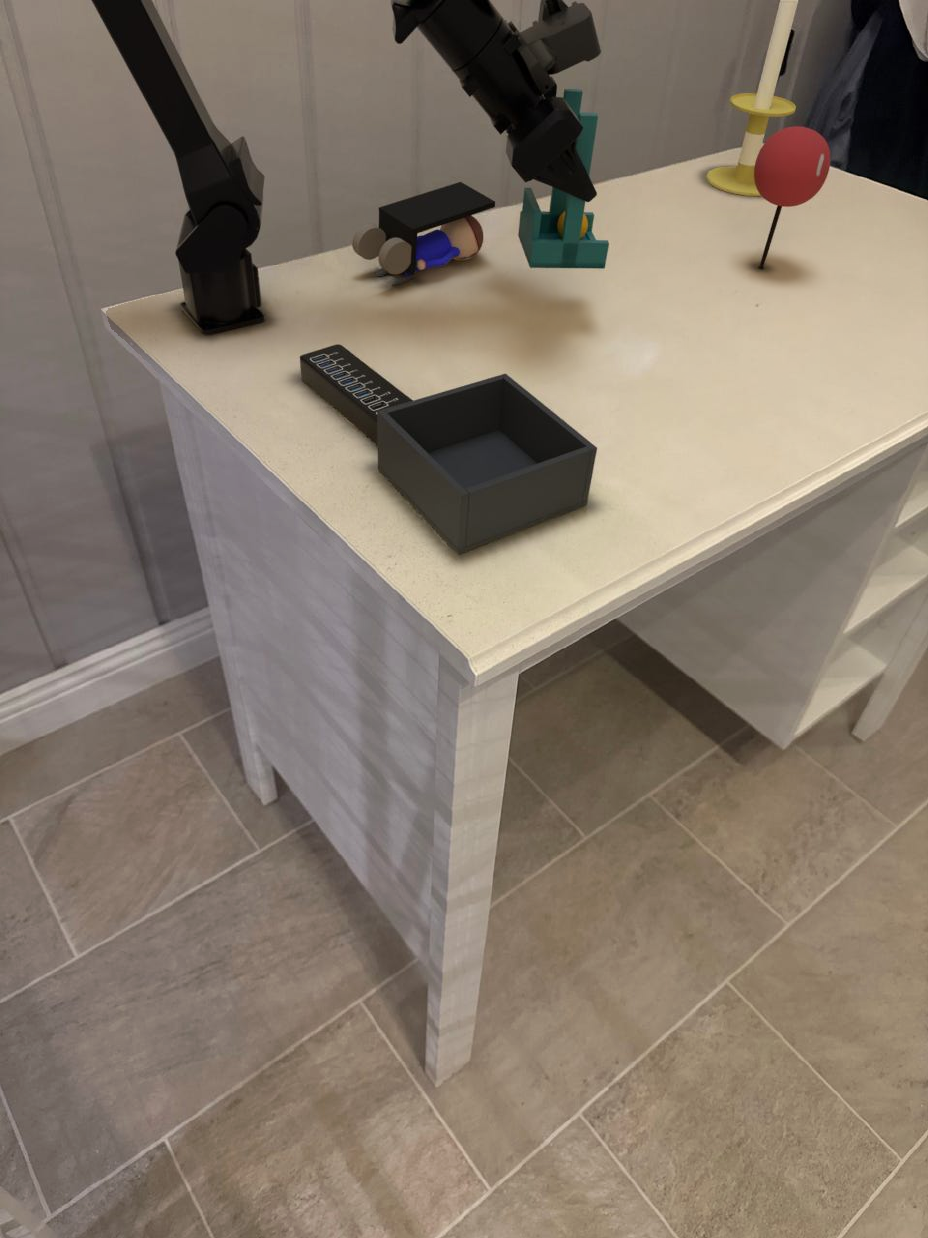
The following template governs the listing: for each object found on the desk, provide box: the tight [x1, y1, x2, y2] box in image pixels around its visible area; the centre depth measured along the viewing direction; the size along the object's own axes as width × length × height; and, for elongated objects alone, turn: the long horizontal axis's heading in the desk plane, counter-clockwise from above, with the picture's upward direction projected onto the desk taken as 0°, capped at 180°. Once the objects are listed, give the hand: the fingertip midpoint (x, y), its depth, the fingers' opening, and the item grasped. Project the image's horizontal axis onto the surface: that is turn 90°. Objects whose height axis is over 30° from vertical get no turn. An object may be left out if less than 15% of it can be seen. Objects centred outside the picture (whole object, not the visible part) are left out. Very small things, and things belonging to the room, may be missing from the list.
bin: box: [377, 373, 598, 555], centre depth 72 cm, size 12×12×6 cm
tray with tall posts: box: [517, 88, 610, 270], centre depth 86 cm, size 7×7×14 cm
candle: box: [705, 0, 799, 197], centre depth 117 cm, size 10×10×27 cm
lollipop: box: [754, 126, 831, 270], centre depth 101 cm, size 8×8×15 cm
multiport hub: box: [299, 344, 414, 446], centre depth 81 cm, size 4×14×2 cm, turn 38°
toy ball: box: [557, 211, 588, 239], centre depth 91 cm, size 3×3×3 cm
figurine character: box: [351, 181, 496, 286], centre depth 99 cm, size 7×8×15 cm
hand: (584, 182), depth 86 cm, fingers closed on tray with tall posts, 7 cm apart
